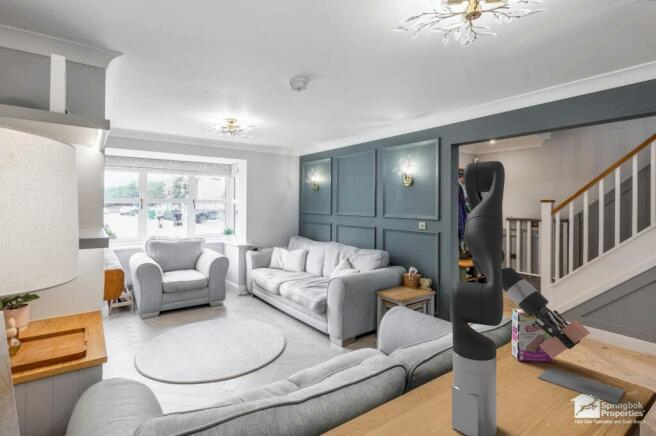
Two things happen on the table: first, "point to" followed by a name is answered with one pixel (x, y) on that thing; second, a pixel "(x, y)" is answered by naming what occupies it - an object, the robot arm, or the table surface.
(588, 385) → the mat
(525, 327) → the candy bar box
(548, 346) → the block
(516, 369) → the table surface
